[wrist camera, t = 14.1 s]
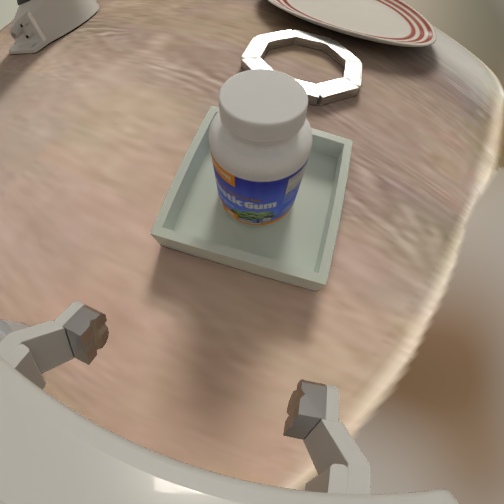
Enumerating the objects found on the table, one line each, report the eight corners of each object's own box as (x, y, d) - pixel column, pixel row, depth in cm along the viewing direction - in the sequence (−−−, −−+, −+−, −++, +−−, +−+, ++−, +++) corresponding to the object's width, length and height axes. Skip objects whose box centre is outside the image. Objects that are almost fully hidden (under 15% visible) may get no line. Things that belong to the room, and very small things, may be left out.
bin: (161, 245, 20) (150, 233, 18) (214, 125, 23) (211, 105, 21) (316, 291, 19) (325, 284, 17) (343, 158, 22) (352, 140, 20)
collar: (229, 86, 25) (228, 77, 23) (262, 31, 28) (262, 24, 27) (355, 117, 24) (358, 109, 23) (360, 55, 27) (362, 47, 26)
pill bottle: (205, 210, 20) (175, 116, 11) (240, 153, 22) (235, 50, 12) (276, 242, 20) (298, 159, 10) (306, 180, 21) (337, 82, 12)
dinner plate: (222, 4, 31) (221, -13, 28) (324, -22, 37) (326, -34, 34) (389, 87, 26) (399, 66, 23) (446, 42, 32) (452, 30, 28)
